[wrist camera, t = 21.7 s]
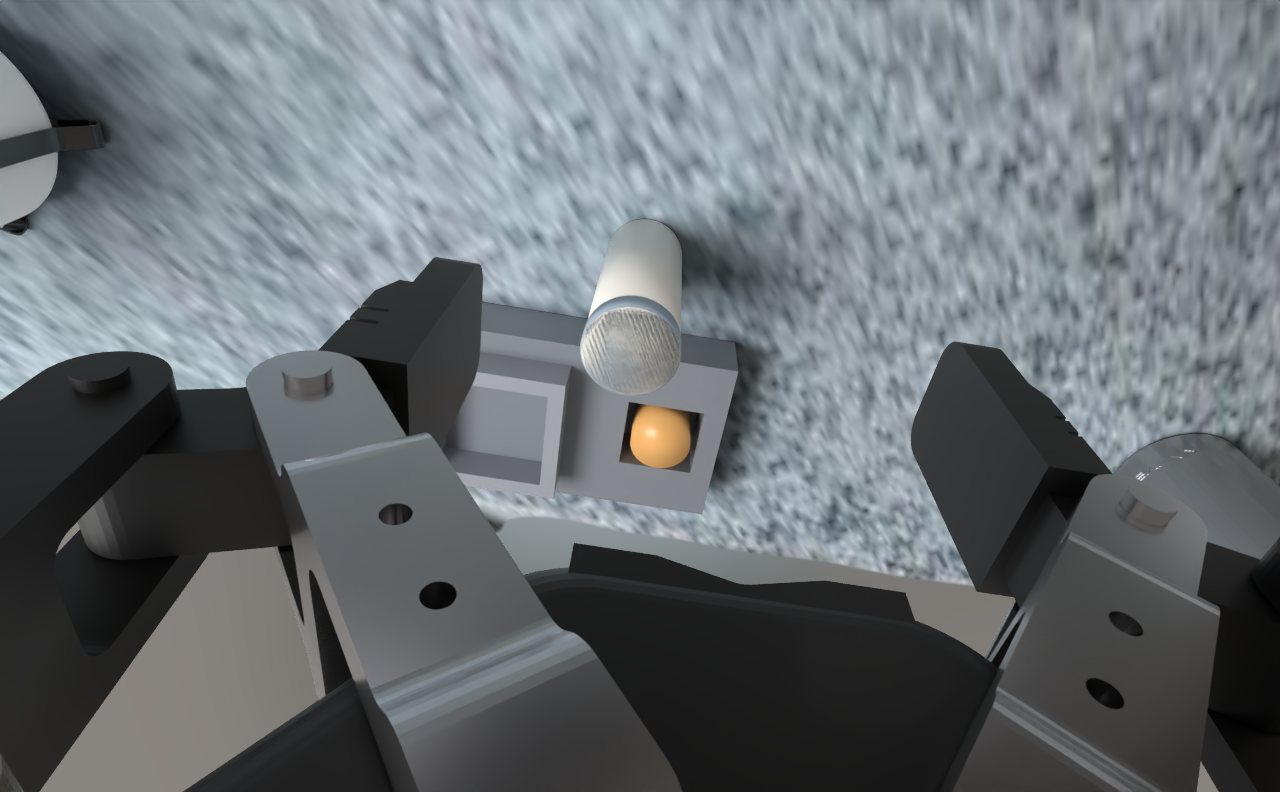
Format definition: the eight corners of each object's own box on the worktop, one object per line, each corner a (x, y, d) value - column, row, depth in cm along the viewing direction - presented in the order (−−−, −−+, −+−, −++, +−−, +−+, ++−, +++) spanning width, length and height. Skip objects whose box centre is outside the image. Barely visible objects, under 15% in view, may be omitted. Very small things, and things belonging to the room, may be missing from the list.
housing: (734, 342, 48) (741, 392, 42) (700, 479, 54) (702, 538, 49) (441, 295, 47) (408, 339, 42) (441, 439, 54) (413, 494, 48)
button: (694, 392, 49) (695, 424, 46) (684, 438, 51) (684, 472, 48) (638, 383, 49) (634, 414, 46) (630, 430, 51) (626, 463, 48)
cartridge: (640, 305, 47) (625, 412, 36) (590, 250, 45) (559, 345, 34) (698, 260, 45) (702, 359, 34) (649, 202, 43) (635, 285, 32)
